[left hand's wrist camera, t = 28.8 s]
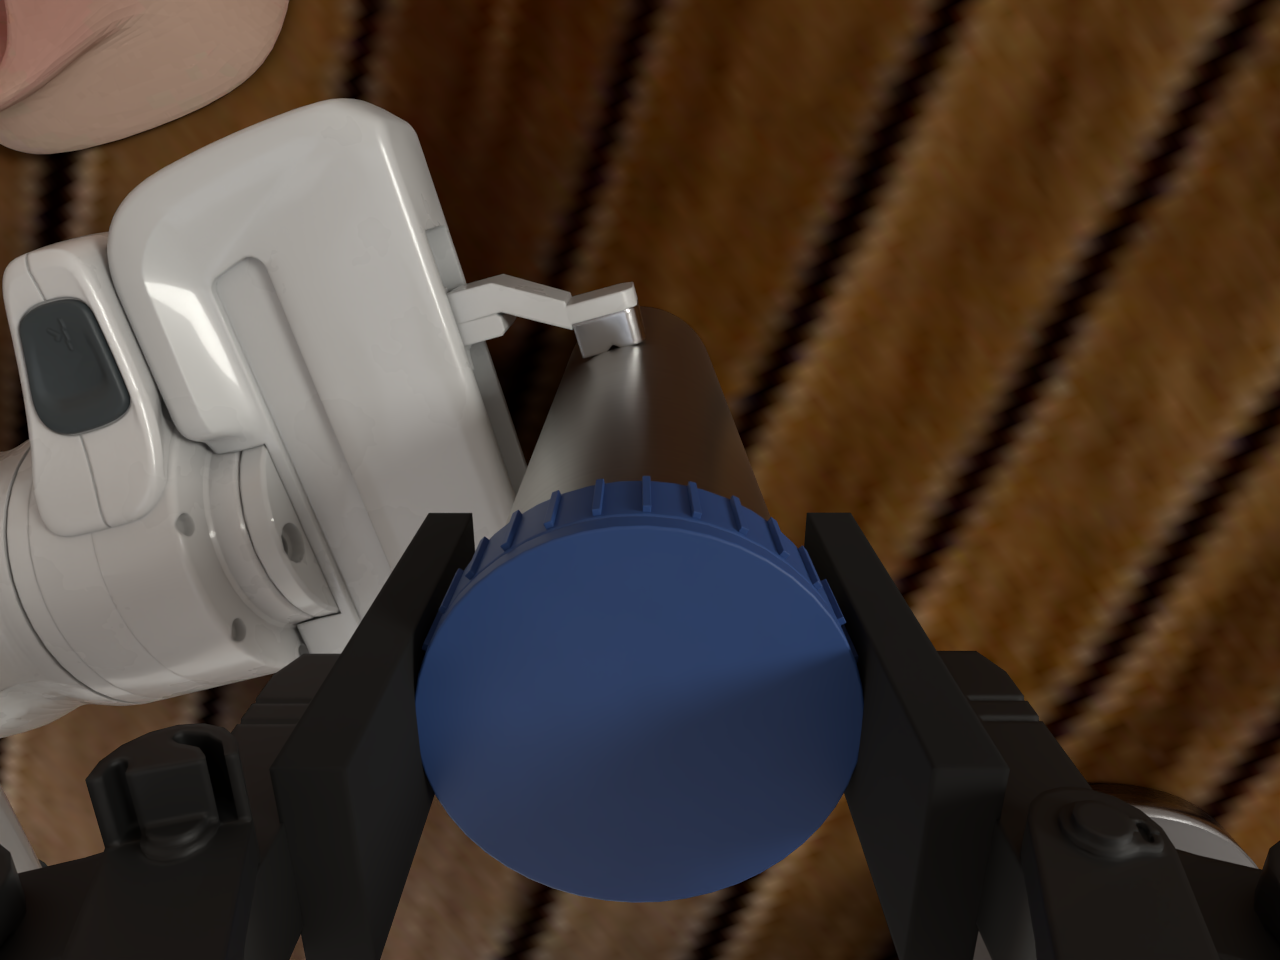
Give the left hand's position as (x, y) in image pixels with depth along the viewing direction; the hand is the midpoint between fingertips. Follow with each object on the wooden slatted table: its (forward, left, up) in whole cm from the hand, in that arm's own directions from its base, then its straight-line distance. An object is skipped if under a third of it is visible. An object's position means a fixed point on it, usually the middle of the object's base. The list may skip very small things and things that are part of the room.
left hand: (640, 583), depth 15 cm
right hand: (0, -1, -10) cm, 10 cm away
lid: (0, 0, +4) cm, 4 cm away
